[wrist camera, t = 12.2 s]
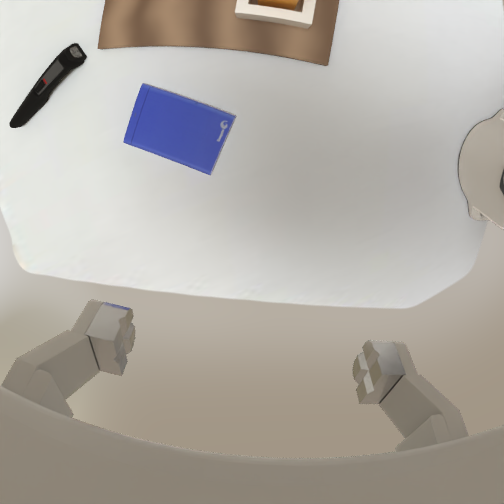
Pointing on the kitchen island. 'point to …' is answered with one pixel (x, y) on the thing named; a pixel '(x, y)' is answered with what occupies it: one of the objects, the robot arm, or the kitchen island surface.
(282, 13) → the end holder
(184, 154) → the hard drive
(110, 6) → the board
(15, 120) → the electric trimmer
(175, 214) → the kitchen island surface
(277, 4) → the connector plug
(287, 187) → the kitchen island surface
